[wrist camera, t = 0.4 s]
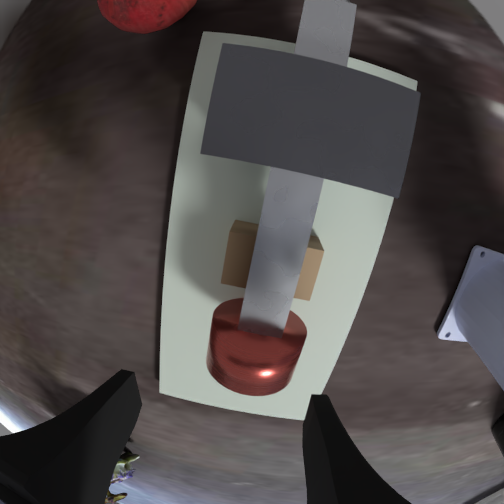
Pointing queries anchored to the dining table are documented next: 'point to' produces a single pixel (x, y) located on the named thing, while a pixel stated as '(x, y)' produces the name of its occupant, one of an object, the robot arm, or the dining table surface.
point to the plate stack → (493, 498)
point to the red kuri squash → (144, 13)
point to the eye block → (310, 118)
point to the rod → (278, 247)
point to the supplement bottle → (499, 433)
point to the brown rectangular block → (242, 252)
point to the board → (249, 210)
